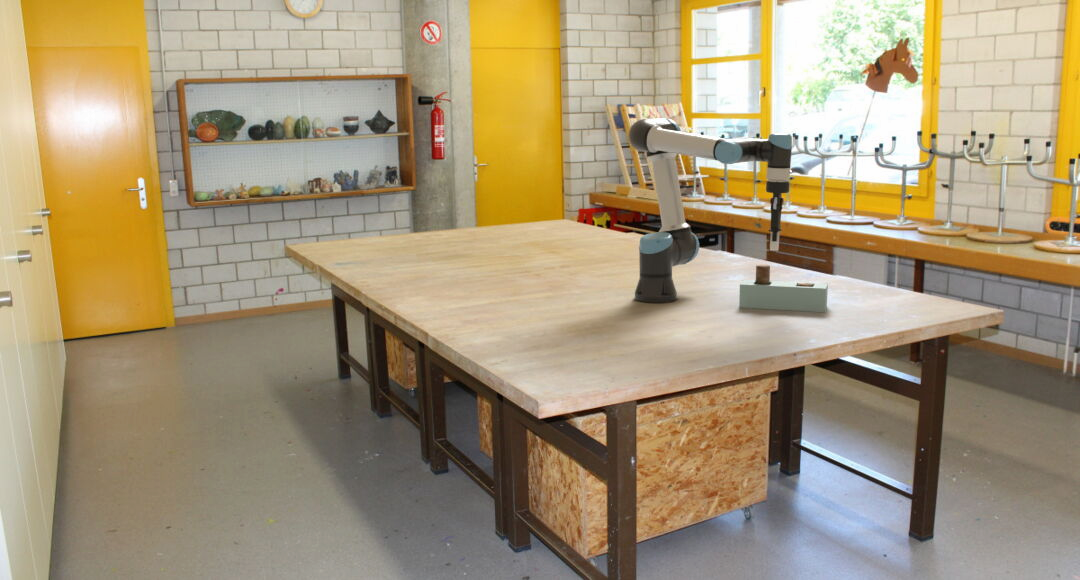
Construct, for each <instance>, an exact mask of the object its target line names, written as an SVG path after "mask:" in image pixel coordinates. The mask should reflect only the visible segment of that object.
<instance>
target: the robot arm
mask: <svg viewBox="0 0 1080 580" xmlns="http://www.w3.org/2000/svg"><path fill="white" fill-rule="evenodd" d="M628 140H629V143H630V145H631V147H633V149H635V150H636V151H639V152H642V153H643V152H645V155H646V158H647V160H648V161H650V162H651V164H652V172H653V178H654V183H655V189H656V195H657V202H658V208H659V214H660V221H661V228H660V229H659V230H658V232H657V231H656V232H650V233H646V234H644V235H642V236H641V238H640V239H639V246H638V250H639V279H638V281H637V284H636V285H637V286H636V288H635V289H634V290H635V291H634V300H636V301H638V302H642V303H651V304H652V303H653V304H654V303H655V304H656V303H657V304H659V303H660V304H661V303H662V304H663V303H670V302H674V301H677V298H678V292H677V289H676V286H675V283H674V279H673V267H676V266H680V265H681V266H682V265H686V264H688V263H690V262H692V261H694V260H695V258H696V257H697V255H698V253H699V250H700V242H699V239H698V236H696V234H695V233H694V232H692V228H691V225H690V224H689V223H687V222H686V218H685V217H686V216H685V211H684V205H683V200H682V193H681V187H680V179H679V174H678V168H677V160H676V157H677V155H683V156H688V157H696V158H701V159H706V160H713V161H718V162H719V163H721V164H723V165H724V164H725V165H734V164H738V163H748V162H764V163H766V166H767V167H766V178H765V179H766V180H767V181H766V183H765V184H766V186H765V191H766V193H771V194H772V196H771V198H769V199H770V201H769V202H770V229H768V232H770V237H769V238H770V241H769V252H770V251H771V252H779V248H780V247H779V246H780V245H779V244H780V232H782V231H783V229H782V228H781V221H782V210H783V203H784V199H785V198H784V197H782V195H783V194H788V193H789V192H790V184H791V183H790V181H789V180H790V179H791V178H790V177H791V174H793V171H792V170H791V165H792V164H791V163H792V151H793V136H792V134H790V133H783V132H782V133H780V132H779V133H770V134H769V135H768V138H751V137H744V138H743V137H742V138H738V139H730V138H722V137H717V136H710V135H703V134H696V133H690V132H684V131H682V130H681V127H680V125H679V124H678V123H677V122H675V121H674V120H673V119H671V118H665V117H657V118H642V119H639V120H637V121H636V122H634V123H633V124H632V125H631V127H630V129H629V131H628Z"/></svg>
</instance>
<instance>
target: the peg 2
mask: <svg viewBox="0 0 1080 580" xmlns="http://www.w3.org/2000/svg"><path fill="white" fill-rule="evenodd" d="M811 283H812V282H806V283H798V286H802V287H812V284H811Z"/></svg>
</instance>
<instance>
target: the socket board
mask: <svg viewBox="0 0 1080 580" xmlns="http://www.w3.org/2000/svg"><path fill="white" fill-rule="evenodd" d="M798 283H807V282H805V281H802V282H801V281H783V280H781V281H780V280H770V285H761V284H756V279H743V280H742V281H741V282H740V283H739V302H738V304H739V308H743V309H745V308H746V309H763V310H775V311H776V310H779V311H781V310H782V311H797V312H815V313H826V311H827V307H828V290H829V289H828V287H829V286H828V285H829V283H823V282H810V283H811V284H812V287H802V286H798Z"/></svg>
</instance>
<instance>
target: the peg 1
mask: <svg viewBox="0 0 1080 580" xmlns="http://www.w3.org/2000/svg"><path fill="white" fill-rule="evenodd" d="M770 277H771V265H770V264H756V266H755V280H756V284H761V285H770V281H771V280H770V279H771V278H770Z"/></svg>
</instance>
